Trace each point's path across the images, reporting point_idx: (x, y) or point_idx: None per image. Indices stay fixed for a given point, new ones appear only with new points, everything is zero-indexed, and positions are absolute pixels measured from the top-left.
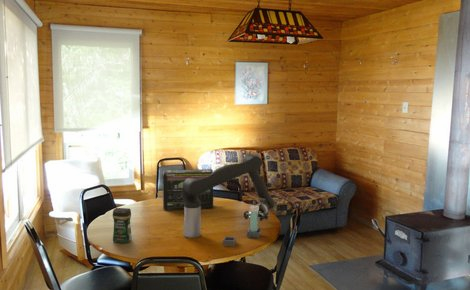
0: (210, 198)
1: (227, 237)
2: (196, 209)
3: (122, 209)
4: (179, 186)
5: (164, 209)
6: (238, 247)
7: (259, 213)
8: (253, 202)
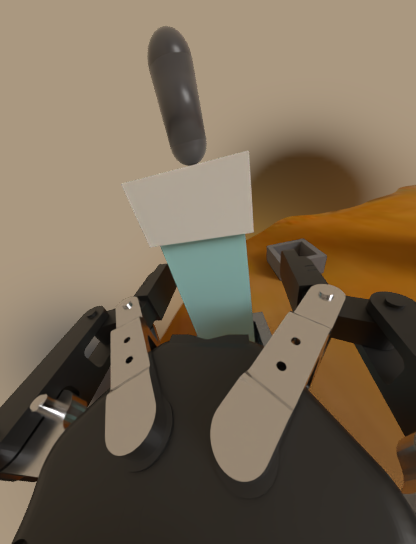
0: None
1: (311, 256)
2: None
3: None
4: None
5: None
6: (253, 260)
7: (154, 360)
8: (190, 76)
